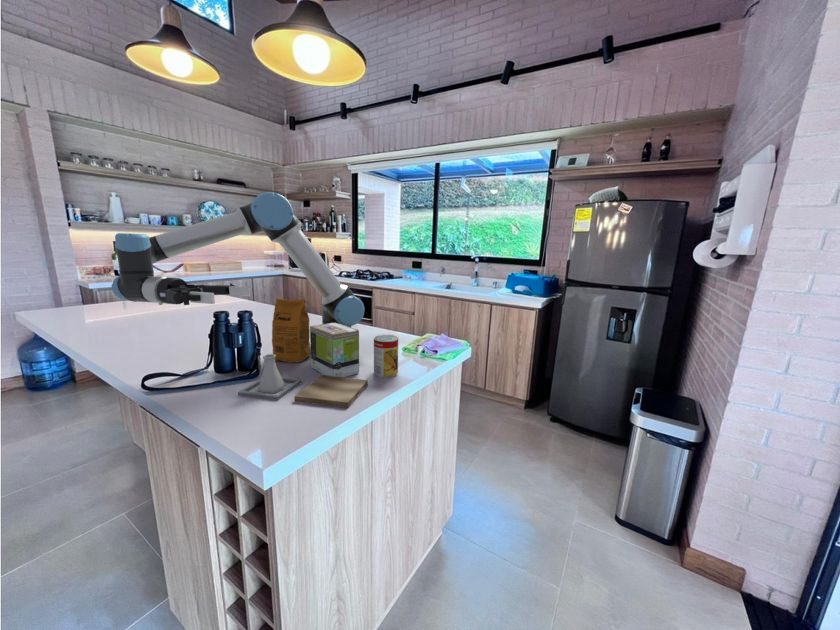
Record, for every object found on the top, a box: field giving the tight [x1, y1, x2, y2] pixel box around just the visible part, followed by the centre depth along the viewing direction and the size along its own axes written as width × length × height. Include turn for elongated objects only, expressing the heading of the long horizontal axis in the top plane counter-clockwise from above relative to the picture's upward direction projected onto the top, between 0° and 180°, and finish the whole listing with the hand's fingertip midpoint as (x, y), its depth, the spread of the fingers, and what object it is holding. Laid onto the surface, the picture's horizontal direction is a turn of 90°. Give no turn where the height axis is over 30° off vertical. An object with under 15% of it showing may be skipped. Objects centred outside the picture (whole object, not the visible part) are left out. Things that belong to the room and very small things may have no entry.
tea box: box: [309, 323, 360, 378], centre depth 108 cm, size 15×10×15 cm
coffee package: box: [271, 297, 311, 363], centre depth 118 cm, size 10×12×22 cm
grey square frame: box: [237, 376, 303, 401], centre depth 94 cm, size 12×12×1 cm
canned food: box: [373, 334, 399, 378], centre depth 108 cm, size 8×8×12 cm
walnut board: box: [294, 374, 369, 409], centre depth 93 cm, size 15×15×2 cm
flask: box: [256, 353, 286, 394], centre depth 93 cm, size 7×7×10 cm
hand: (232, 295), depth 91 cm, fingers open, 13 cm apart
